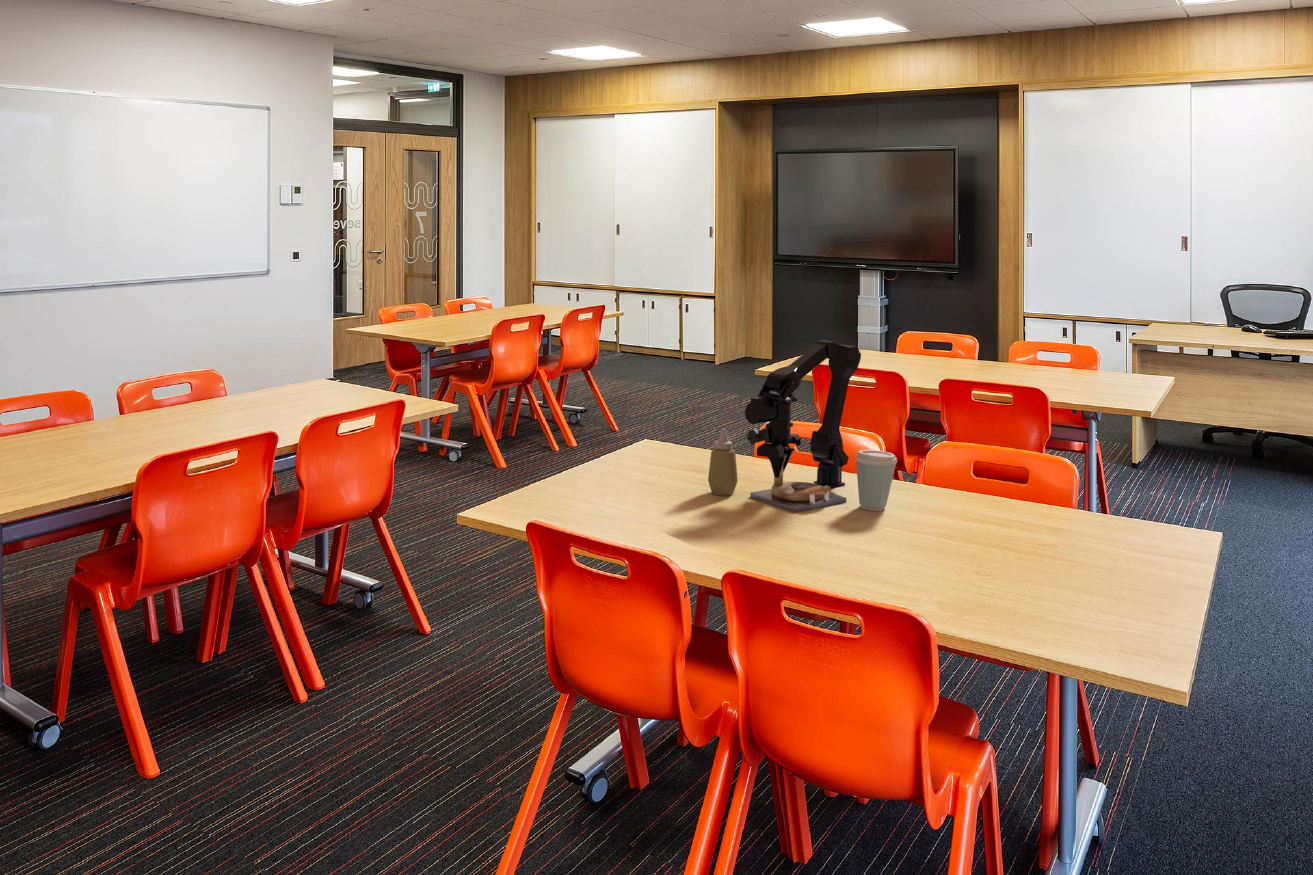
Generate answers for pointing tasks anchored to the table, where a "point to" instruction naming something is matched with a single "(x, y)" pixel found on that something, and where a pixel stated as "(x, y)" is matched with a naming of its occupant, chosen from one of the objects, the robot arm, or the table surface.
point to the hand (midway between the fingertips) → (778, 476)
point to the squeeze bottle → (723, 467)
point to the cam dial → (793, 490)
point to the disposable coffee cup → (874, 478)
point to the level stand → (800, 505)
